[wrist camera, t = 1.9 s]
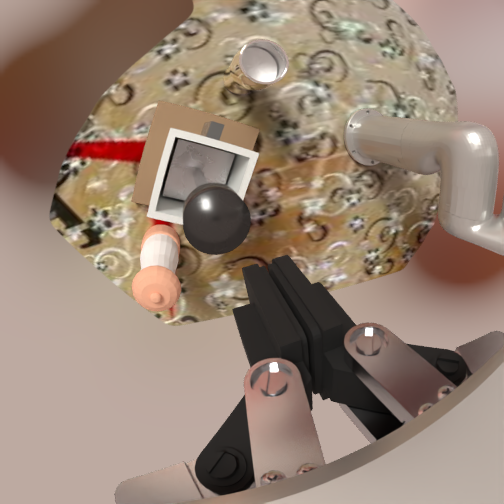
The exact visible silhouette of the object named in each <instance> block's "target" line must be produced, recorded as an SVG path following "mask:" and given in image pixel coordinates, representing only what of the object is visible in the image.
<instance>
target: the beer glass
mask: <svg viewBox="0 0 504 504" xmlns="http://www.w3.org/2000/svg"><path fill="white" fill-rule="evenodd" d="M288 67H289V61H288V57H287V54H286V52H285V51H284V50H283V48H282V47H281V46H279V45H278V44H277V43H275V42H273V41H270V40H264V39H260V40H254V41H252V42H250V43H248V44H247V45H245V46H244V47H243V48H242V49H240V50H239V51H238V52H237V53H236V54H235V56H234V57H233V59H232V61H231V64H230V67H228V68H227V70H226V71H225V73H224V76H223V81H224V85H225V87H226V88H227V89H228V90H229V91H230V92H232V93H234V94H239V95H243V94H247V93H249V92H251V91H252V90H261V89H265V88H267V87H269V86H271V85H273V84H275V83H276V82H278V81H279V80H281V79H282V78H283V77H284V76H285V75H286V73H287V71H288Z"/></svg>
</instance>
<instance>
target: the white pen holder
mask: <svg viewBox="0 0 504 504" xmlns="http://www.w3.org/2000/svg"><path fill="white" fill-rule="evenodd" d="M259 131H260V129H257V128H254V127H251V126H249V125H246V124H243V123H239V122H236V121H233V120H230V119H227V118H224V117H220V116H217V115H214V114H210V113H207V112H203V111H199V110H196V109H192V108H188V107H184V106H180V105H176V104H172V103H168V102H164V101H159V102H158V105H157V108H156V111H155V114H154V117H153V120H152V124H151V127H150V130H149V133H148V137H147V140H146V144H145V147H144V151H143V155H142V159H141V162H140V166H139V170H138V175H137V179H136V183H135V188H134V192H133V197H132V201H131V202H135V203H140V204H144V205H149V209H148V214H147V217H150V218H155V219H159V220H164V221H168V222H173V223H177V224H182V225H183V205H184V202H185V201H184V200H180V199H175V198H171V197H167V196H163V192H164V188H165V184H166V180H167V177H168V173H169V169H170V166H171V162H172V159H173V155H174V152H175V149H176V145H177V142H178V139H181V140H185V141H189V142H192V143H196V144H200V145H204V146H207V147H211V148H214V149H218V150H221V151H225V152H228V153H232V154H234V155H235V156H234V159H233V162H232V165H231V168H230V171H229V174H228V177H227V180H226V183H225V185H227V186H229V187H230V188H232V189H233V190H234V191H235V192H236V193H237V194H238V195H239V197H240V198H241V199H242V200H243V199H244V196H245V193H246V190H247V187H248V184H249V182H250V179H251V176H252V173H253V170H254V167H255V164H256V161H257V158H258V156H259V153H257V152H254V151H252V150H253V148H254V145H255V142H256V139H257V136H258V133H259Z"/></svg>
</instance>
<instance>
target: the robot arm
mask: <svg viewBox="0 0 504 504" xmlns="http://www.w3.org/2000/svg"><path fill="white" fill-rule="evenodd" d="M349 125H350V127H349ZM344 141H345V146H346V149H347V151H348V153H349V154H350V156H351V157H352V158H353V159H354V160H355V161H357V162H358V163H360V164H363V165H367V166H372V165H376V164H378V163H380V162H382V163H385V164H389V165H392V166H396V167H399V168H402V169H405V170H408V171H412V172H415V173H418V174H422V175H429V174H434V173H436V172H438V171H440V178H441V181H440V196H439V209H438V217H439V222H440V225H441V226H442V228H443V229H444V230H446V231H447V232H448V233H450V234H452V235H453V236H456V237H458V238H460V239H463V240H466V241H468V242H471V243H473V244H476V245H479V246H481V247H484V248H486V249H489V250H491V251H493V252H496V253H499V254H501V255H503V256H504V197H503V204H502V211H501V213H500V214H499V215H494V214H493V210H494V203H495V196H496V189H497V179H498V166H499V153H498V146H497V142H496V139H495V137H494V135H493V134H492V132H491V131H490V130H489V129H488V128H487V127H486V126H483V125H482V124H479V123H475V122H466V121H464V122H438V121H427V120H419V119H410V118H400V117H387V116H383V115H382V114H381V113H380V112H378V111H376V110H374V109H369V108H364V109H360V110H357V111H356V112H354V113H353V114H352V115H351V116H350V117H349V119H348V120H347V123H346V125H345V130H344ZM268 270H269V273H268V271H267V270H266V268H265V267H264V266H262V267H259V266H258V264H254V265H251V266H247V267H244V268H242V271H243V276H244V280H245V284H246V288H247V293H248V297H249V301H250V304H248V305H245V306H241V307H238V308H234V309H232V310H233V314H234V317H235V320H236V323H237V327H238V330H239V333H240V337H241V339H242V343H243V346H244V349H245V352H246V355H247V358H248V361H249V364H250V367H251V368H250V369H249V370H248V371H247V373H246V375H245V378H244V391H245V395H244V397H243V398H242V399H241V401H240V402H239V404H238V405H237V406H236V408H235V409H234V410H233V412H232V413H231V414H230V416H229V417H228V418H227V420H226V421H225V423H224V424H223V425H222V426H221V428H220V429H219V430H218V432H217V433H216V434H215V436H214V437H213V438H212V440H211V441H210V442H209V443H208V445H207V446H206V447H205V448H204V450H203V451H202V452H201V454H200V455H199V457H198V458H197V459H196V460H193V461H191V462H188V463H185V462H181V463H178V464H175V465H173V466H170V467H167V468H164V469H161V470H158V471H155V472H151V473H148V474H145V475H142V476H138V477H135V478H131V479H128V480H126V481H123V482H121V483H120V485H119V486H118V487H117V488H116V491H115V502H116V504H504V333H503V332H500V331H494V332H490V333H488V334H486V335H484V336H482V337H480V338H478V339H475V340H473V341H471V342H469V343H466V344H464V345H461V346H459V347H457V348H456V350H455V351H451V350H447V349H439V348H432V347H424V346H417V345H411V344H406V343H404V342H403V341H402V340H401V339H399V338H398V337H397V336H396V335H395V334H393V333H392V332H391V331H390V330H388V329H387V328H386V327H384V326H382V325H379V324H376V323H362V324H359V325H356V324H355V323H354V322H353V321H352V320H351V318H350V317H349V316H348V315H347V314H346V313H345V311H344V310H343V309H342V308H341V306H340V305H339V304H338V303H337V302H336V301H335V299H334V298H333V297H332V296H331V295H330V293H329V292H328V291H327V290H326V289H325V287H324V286H323V285H322V284H321V283H319V282H317V283H314V284H311V283H310V282H309V280H308V279H307V278H306V277H305V275H304V274H303V273H302V272H301V270H300V269H299V268H298V267H297V266H296V264H295V263H294V262H293V261H292V259H291V258H290V257H289V256H288V255H285V256H282V257H278V258H275V259H273V260H272V264H269V265H268ZM312 392H313V393H314V394H317V393H319V394H320V395H321V397H322V399H323V400H325V399H327V398H330V400H331V401H333V402H337V403H339V405H340V406H341V408H342V410H343V411H344V412H345V413H346V414H347V416H348V417H349V418H350V419H351V421H352V422H353V423H354V424H355V425H356V427H357V428H358V429H359V430H360V431H361V432H362V434H363V435H364V436H365V437H366V438H367V439H368V441H369V442H370V443H371V444H370V445H368V446H366V447H364V448H362V449H360V450H358V451H356V452H354V453H351V454H349V455H347V456H345V457H343V458H340V459H338V460H336V461H334V462H331V463H329V464H325V460H324V457H323V453H322V450H321V446H320V442H319V439H318V435H317V431H316V428H315V424H314V421H313V417H312V414H311V410H312V409H313V408H312Z"/></svg>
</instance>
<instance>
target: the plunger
mask: <svg viewBox="0 0 504 504" xmlns="http://www.w3.org/2000/svg"><path fill="white" fill-rule="evenodd" d="M234 156H235V155H234V154H232V153H228V152H225V151H221V150H218V149H214V148H211V147H207V146H204V145H200V144H196V143H192V142H189V141H185V140H181V139H178V142H177V145H176V149H175V152H174V155H173V159H172V162H171V166H170V169H169V173H168V177H167V180H166V184H165V188H164V192H163V196H167V197H171V198H175V199H180V200H184V201H185V202H184V205H183V229H184V233H185V236H186V238H187V240H188V241H189V243H190V244H191V245H192V246H193V247H194V248H196V249H197V250H199V251H201V252H203V253H207V254H214V255H217V254H223V253H227V252H230V251H232V250H233V249H235V248H237V247H238V246H239V245H240V244H241V243H242V242H243V241H244V239H245V238H246V236H247V234H248V232H249V229H250V223H251V218H250V213H249V210H248V207H247V206H246V204H245V203H244V201H243V200H242V199H241V198H240V197H239V195H238V194H237V193H236V192H235V191H234V190H233V189H232V188H230V187H229V186H227V185H225V183H226V180H227V177H228V174H229V171H230V168H231V165H232V162H233V159H234Z"/></svg>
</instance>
